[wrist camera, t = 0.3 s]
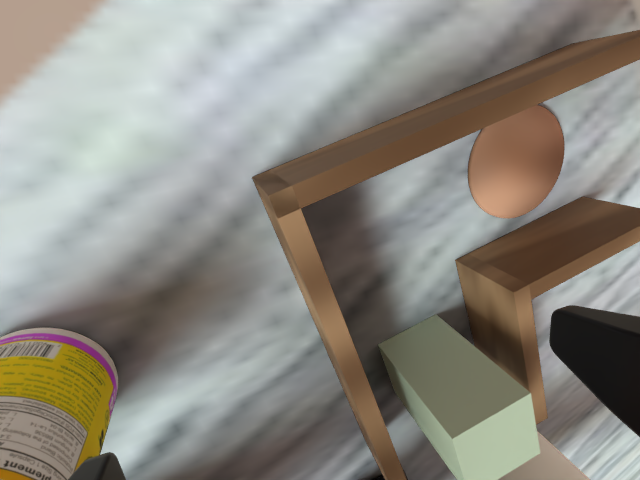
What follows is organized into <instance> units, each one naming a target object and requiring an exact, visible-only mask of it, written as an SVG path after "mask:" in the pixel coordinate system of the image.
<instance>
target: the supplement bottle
mask: <svg viewBox="0 0 640 480" xmlns="http://www.w3.org/2000/svg"><path fill="white" fill-rule="evenodd" d="M117 391H118V375H117V371H116V367H115V365H114V363H113V360H112V359H111V357H110V356H109V355H108V353H107V352H106V351H105V350H104V349H103V348H102V347H101V346H100V345H99V344H98V343H96V342H94V341H93V340H91V339H89V338H87V337H85V336H83V335H80V334H78V333H75V332H72V331H68V330H64V329H58V328H31V329H25V330H20V331H16V332H13V333H9V334H7V335H5V336H2V337H0V480H68V479H69V477H70V476H71V475H72V474H73V473H74V472H75V471H76V469H77V468H78V467H79V466H80V465H81V464H82V463H83V462H84V461H85V460H87V459H89V458H92V457H95V456H99V455H100V452H101V449H102V446H103V442H104V439H105V435H106V432H107V429H108V425H109V422H110V418H111V415H112V411H113V408H114V404H115V400H116V396H117Z"/></svg>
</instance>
